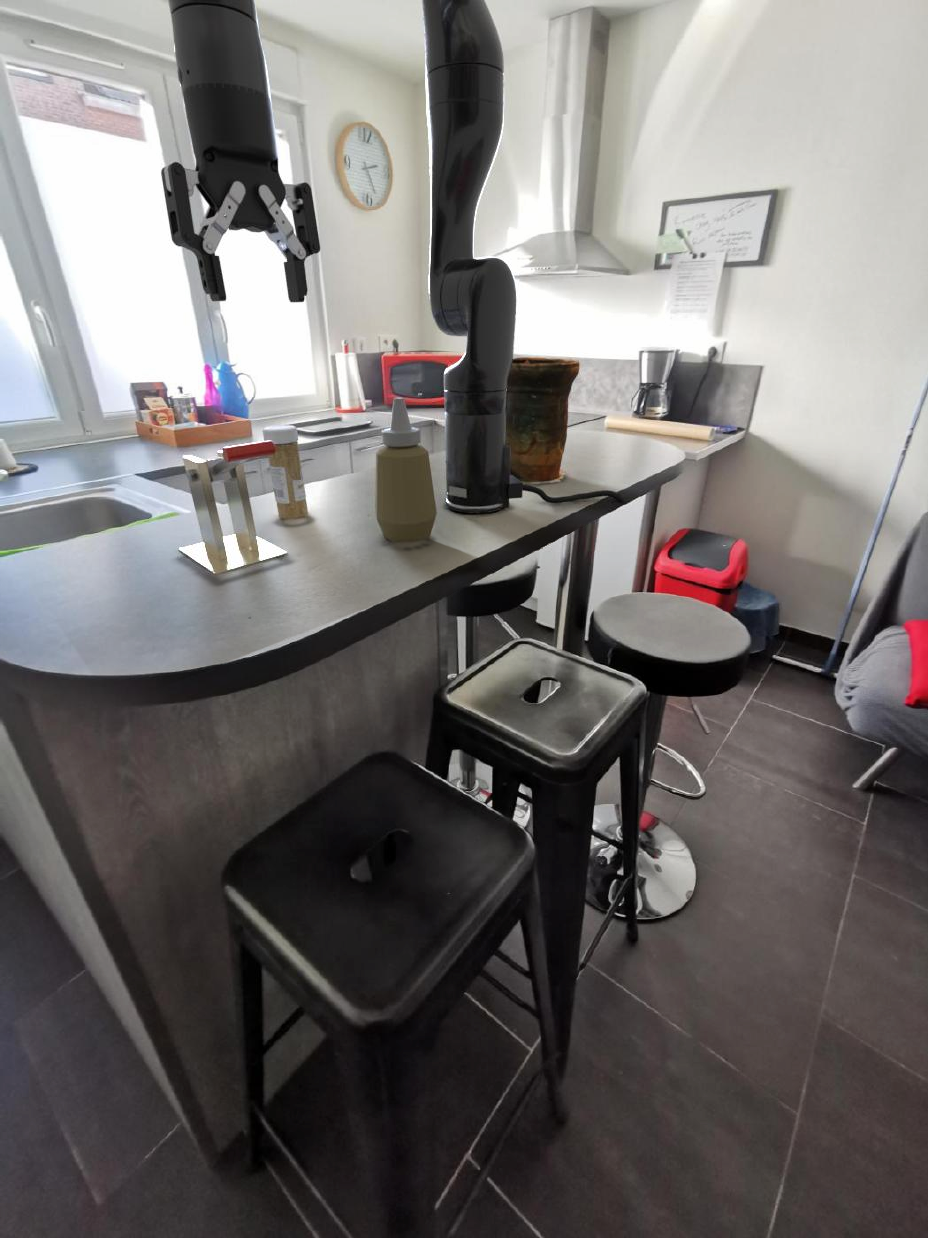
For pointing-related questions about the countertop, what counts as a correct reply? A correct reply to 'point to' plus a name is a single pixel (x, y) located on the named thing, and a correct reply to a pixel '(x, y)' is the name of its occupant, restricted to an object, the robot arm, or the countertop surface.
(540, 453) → the vessel
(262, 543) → the metal stand
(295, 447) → the sprinkles bottle
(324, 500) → the countertop surface
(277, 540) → the countertop surface
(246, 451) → the lever
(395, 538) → the squeeze bottle
